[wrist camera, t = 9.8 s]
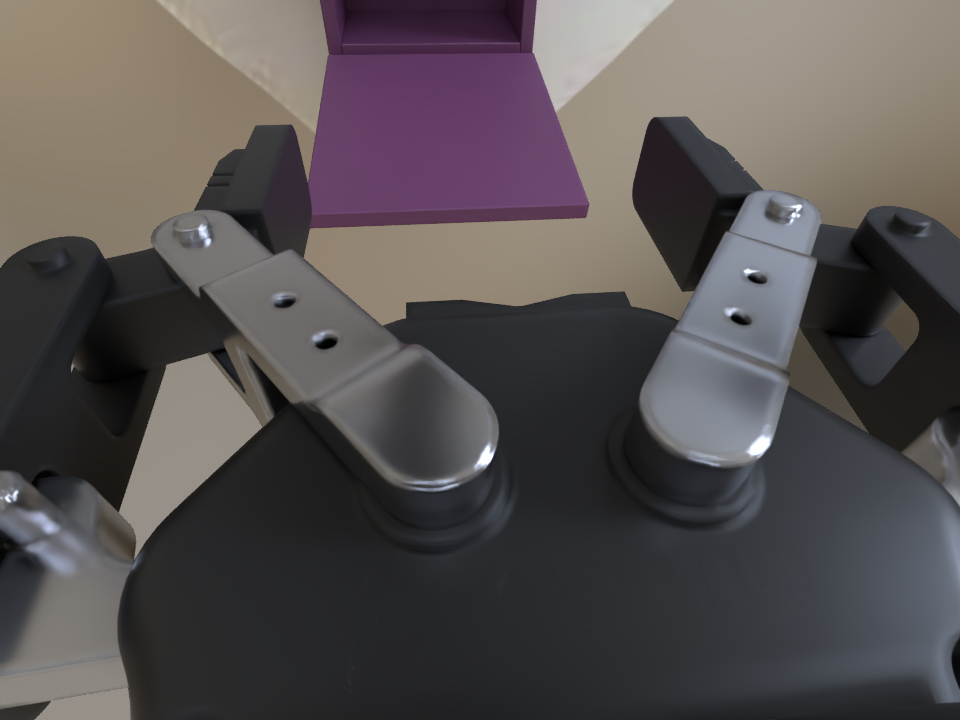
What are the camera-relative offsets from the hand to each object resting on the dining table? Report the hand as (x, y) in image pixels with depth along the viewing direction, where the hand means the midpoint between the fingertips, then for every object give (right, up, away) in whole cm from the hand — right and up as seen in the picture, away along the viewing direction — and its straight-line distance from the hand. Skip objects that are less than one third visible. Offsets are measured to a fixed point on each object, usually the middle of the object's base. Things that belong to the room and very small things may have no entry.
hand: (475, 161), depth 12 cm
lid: (-2, +8, +15) cm, 18 cm away
